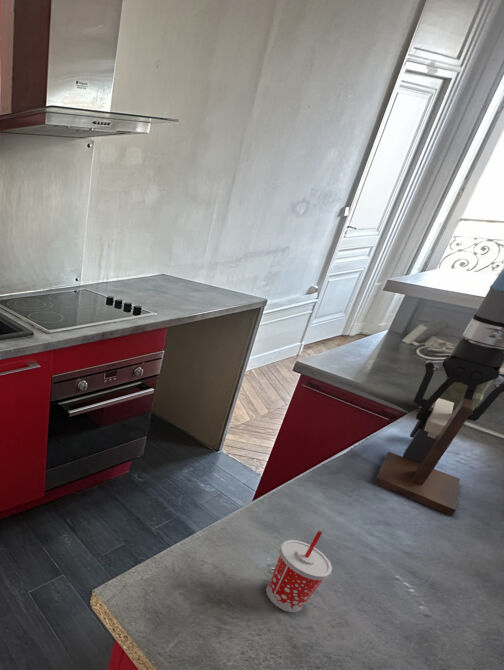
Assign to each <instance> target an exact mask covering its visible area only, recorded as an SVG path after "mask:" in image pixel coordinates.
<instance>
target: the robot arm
mask: <svg viewBox="0 0 504 670" xmlns="http://www.w3.org/2000/svg"><path fill="white" fill-rule="evenodd" d="M462 336H463V337H462V338H460V339H459V340H458V341H457V343H456V344H455V346H454V348H453V350H452V351H451V352H450V354H449V356H447V357H445V358H444V359H443V360H433V359H428V360H426V361H425V364H424V367H425V368H424V369H425V372H424V373H425V374H424V376H423V378H422V380H421V382H420V385H419V387H418V390H417V392H416V394H415V397H414V399H413V402H414V403H416V404H417V405H419V406H420V408H419V410H418V412H417V413H416V414H415V419H416V420H417V421H418V420H420V423H419V424H418V426H417V427H416V429H415V431H414V434H416V432H417V431H418V429H419V428H420V429H422V428H423V426H424V425H425V423H426V421H427V420H428V418H429V416H430V415H431V413H432V412H433V407H431V406H432V405H433V404H434V403H435V402H436V401H437V400H438V398H439V397H440V396H441V395H442V394H443V393H444V392H445V391H446V390H447V389H448V388H449V387H450V386H451V385H452V384H453V383H454V382H458V383H463V384H465V385H467V388H466V391H465V393H464V396H463V398H465V399H469V400H472V397H473V395H474V392H475V390H476V388H477V385H480V384H483V383H485V382H488V381H491V380H494V381H493V382H492V386H493V387H491V388H490V390H488V392H487V393H486V394H485V395H484V396H483V399H482V400H481V402H480V403H479V404H478V405H477V406H476V407H475V409H474V410H473V411H472V412H471V414H470V415H469V417H468V418H467V420H470V421H473V422H475V421H478V420H479V419H480V418H481V417H482V415H483V414H484V413H485V412H486V411H487V409H489V408H490V406H491V405H492V404H493V403H494V402H495V401H496V399H498V397H499V396H500V395H501V393H504V376H501V369H502V367H503V366H502V365H504V364H503V363H504V268H503V269H502V270H501V271H500V273H499V274H498V275H497V277H496V278H495V280H494V281H493V283H492V284H491V285H490V286H489V290H488V291H487V293H486V295H485V296H484V298H483V300H482V302H481V304H480V306H479V307H478V309H477V310H476V312H475V314H474V315H473V317H472V318H471V320H470V321H469V323H468V324H467V326H466V328H465V329H464V331H463V332H462ZM501 366H502V367H501ZM441 367H443V369H444V373H445V374H446V375H445V376H446V377H445V378H444V379H443V381H442V382H441V383H440V384H439V385H438V386H437V387H436V388H435V390H433V391H432V393H431V394H429V396H428V397H427V398H424V396H425V394H426V393H427V389H428V387H429V385H430V383H431V380H432V378H433V376H434V373H435V372H437V371H439V370H440V368H441ZM500 368H501V369H500ZM451 416H452V415H451Z"/></svg>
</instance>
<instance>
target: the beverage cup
mask: <svg viewBox="0 0 504 670" xmlns="http://www.w3.org/2000/svg"><path fill="white" fill-rule="evenodd" d="M322 535H323V531H321V530H317V532H316V534H315V536H314V537H313V540H312V542H311V543H310V544H309V543H308V542H304V541H300V540H298V539H288V540H286V541H283V542H282V543H281V546H280V548H279V556H278V559H277V562H276V564H275V567H274V569H273V572H272V574H271V577H270V579H269V581H268V584H267V587H266V589H265V591H266V595H267V597H268V599H269V600H270V602H272V603H273V605H274V606H275V607H277V608H279V609H281V610H282V611H284V612H287V613H298V612H299V611H301V610H302V608H304V606H305V605H306V603H307V602H308V601H309V599H310V598H311V596H312V595H313V594H314V593H315V592H316V590H317V589H318V587H319V586H320V585H321V583H323V581H324V580H326V579H328V578H329V576H330V575H331V574H332V571H333V566H332V563H331V561H330V560H329V559H328V557H327V556H326V555H325V554H324V553H323V552H322V551H321V550H319V549H318V548H316V545H317V543H318V542H319V540H320V538H321V536H322Z"/></svg>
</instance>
